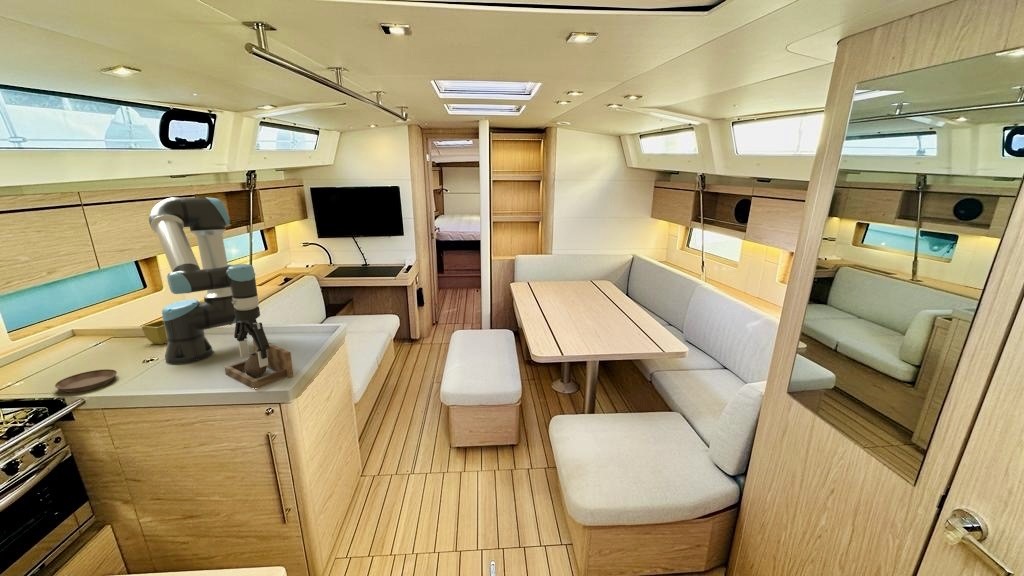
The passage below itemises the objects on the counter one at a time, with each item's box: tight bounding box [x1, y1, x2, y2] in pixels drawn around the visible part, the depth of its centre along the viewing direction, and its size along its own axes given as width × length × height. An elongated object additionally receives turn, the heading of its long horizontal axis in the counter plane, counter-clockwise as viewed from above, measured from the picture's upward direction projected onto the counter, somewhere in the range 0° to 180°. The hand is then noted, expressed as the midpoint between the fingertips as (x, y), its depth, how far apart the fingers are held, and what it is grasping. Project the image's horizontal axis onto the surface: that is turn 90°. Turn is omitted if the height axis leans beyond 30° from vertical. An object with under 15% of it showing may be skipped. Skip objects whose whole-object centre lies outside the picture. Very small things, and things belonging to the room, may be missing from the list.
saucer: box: [54, 368, 118, 393], centre depth 134 cm, size 15×15×3 cm
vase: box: [244, 352, 268, 379], centre depth 142 cm, size 7×7×9 cm
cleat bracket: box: [224, 339, 294, 390], centre depth 143 cm, size 24×13×10 cm, turn 59°
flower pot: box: [140, 319, 168, 345], centre depth 170 cm, size 9×9×9 cm
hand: (254, 361), depth 142 cm, fingers open, 13 cm apart
